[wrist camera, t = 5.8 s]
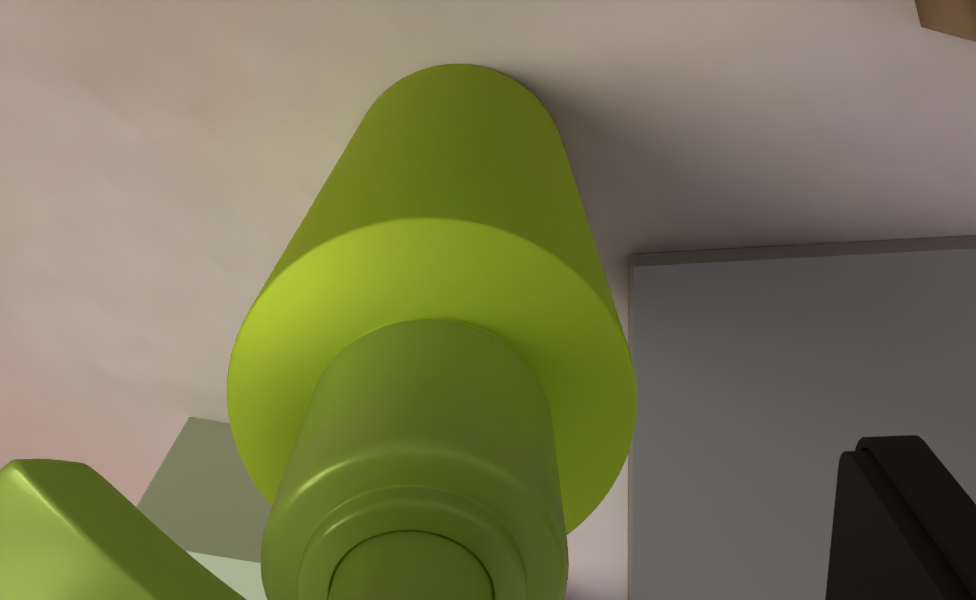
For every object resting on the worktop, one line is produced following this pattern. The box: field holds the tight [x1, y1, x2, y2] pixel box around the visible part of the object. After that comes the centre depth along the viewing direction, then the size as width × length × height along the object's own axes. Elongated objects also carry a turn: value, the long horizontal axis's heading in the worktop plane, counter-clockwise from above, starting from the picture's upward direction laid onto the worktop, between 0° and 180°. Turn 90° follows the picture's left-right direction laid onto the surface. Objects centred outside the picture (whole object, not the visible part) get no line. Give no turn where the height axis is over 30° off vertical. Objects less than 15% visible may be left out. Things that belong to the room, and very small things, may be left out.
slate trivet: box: [628, 235, 976, 600], centre depth 28 cm, size 14×14×1 cm
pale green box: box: [136, 417, 272, 600], centre depth 26 cm, size 4×4×6 cm
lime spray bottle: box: [0, 64, 637, 600], centre depth 16 cm, size 6×7×20 cm
